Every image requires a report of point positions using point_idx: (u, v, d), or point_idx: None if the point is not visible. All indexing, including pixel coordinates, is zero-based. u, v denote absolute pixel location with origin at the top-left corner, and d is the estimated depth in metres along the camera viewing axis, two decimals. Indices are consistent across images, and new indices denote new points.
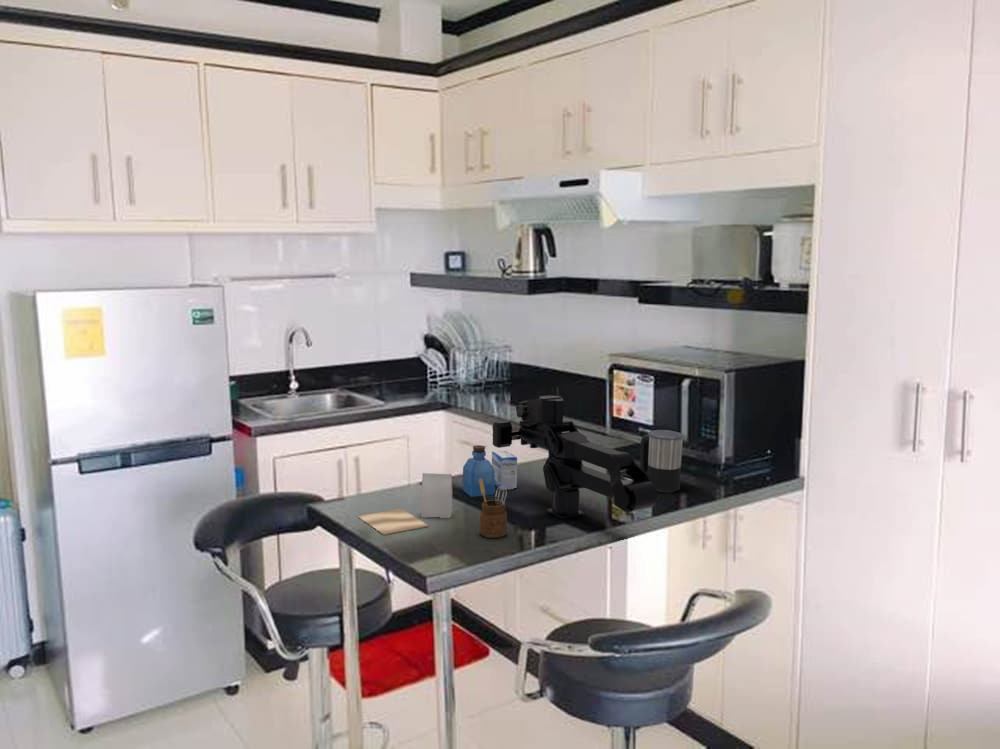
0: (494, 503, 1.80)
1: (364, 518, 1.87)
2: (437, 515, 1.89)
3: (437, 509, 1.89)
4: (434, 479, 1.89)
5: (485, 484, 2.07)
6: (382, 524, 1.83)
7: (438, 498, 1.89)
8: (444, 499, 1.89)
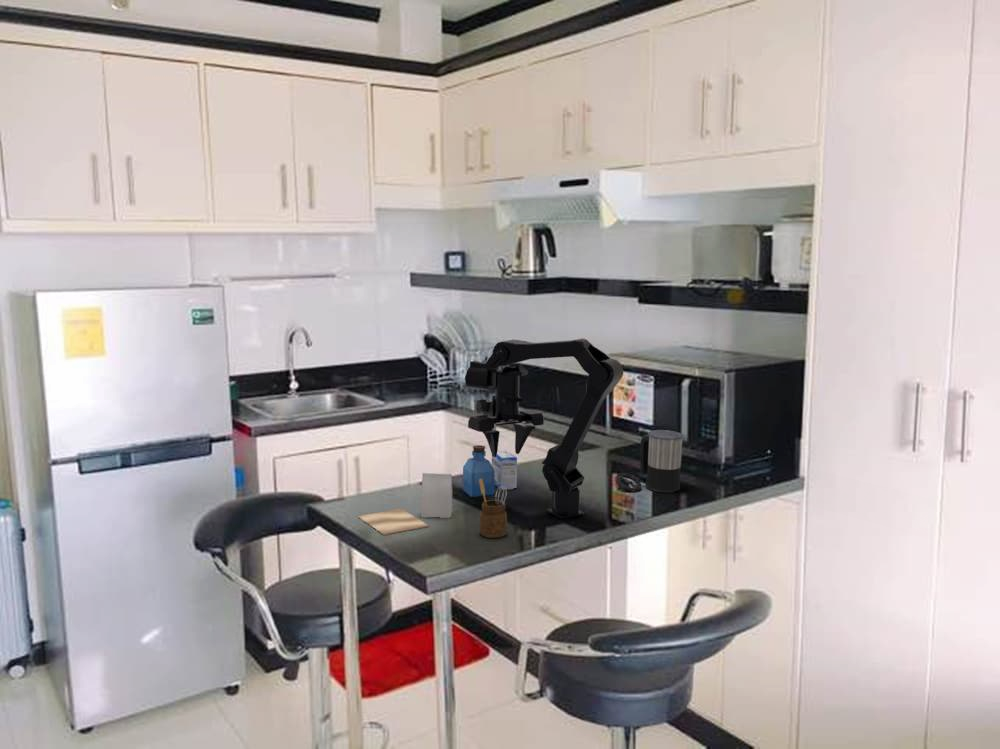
0: (494, 503, 1.80)
1: (364, 518, 1.87)
2: (437, 515, 1.89)
3: (437, 509, 1.89)
4: (434, 479, 1.89)
5: (485, 484, 2.07)
6: (382, 524, 1.83)
7: (438, 498, 1.89)
8: (444, 499, 1.89)
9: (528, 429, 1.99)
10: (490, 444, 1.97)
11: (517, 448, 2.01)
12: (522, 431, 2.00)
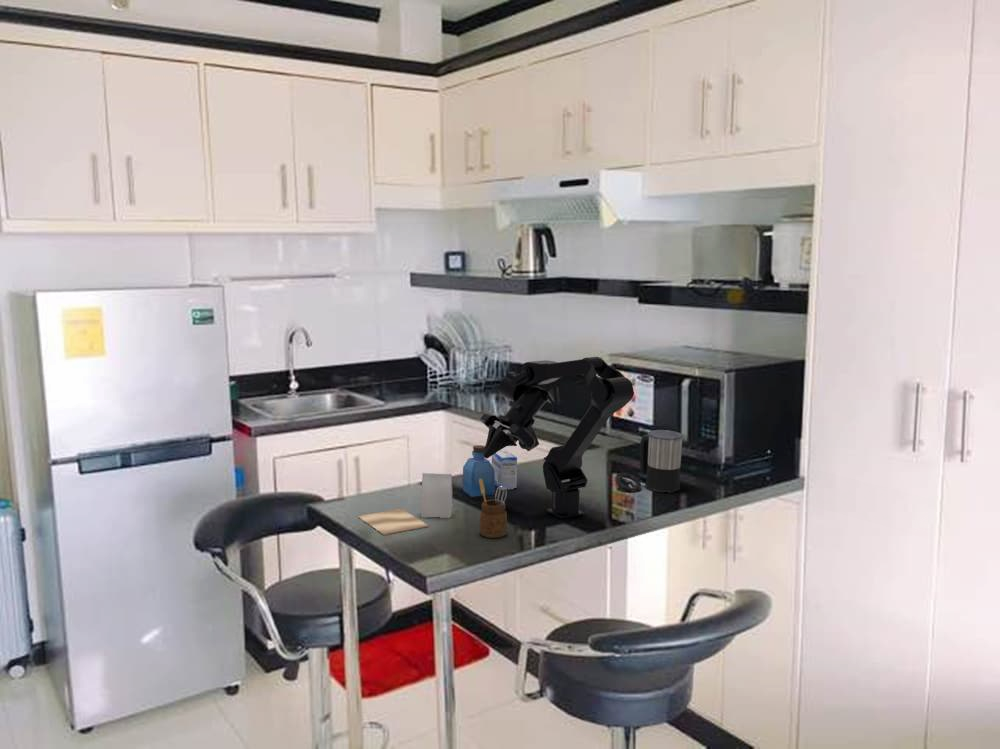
0: (494, 503, 1.80)
1: (364, 518, 1.87)
2: (437, 515, 1.89)
3: (437, 509, 1.89)
4: (434, 479, 1.89)
5: (485, 484, 2.07)
6: (382, 524, 1.83)
7: (438, 498, 1.89)
8: (444, 499, 1.89)
9: (497, 429, 1.95)
10: None
11: None
12: None
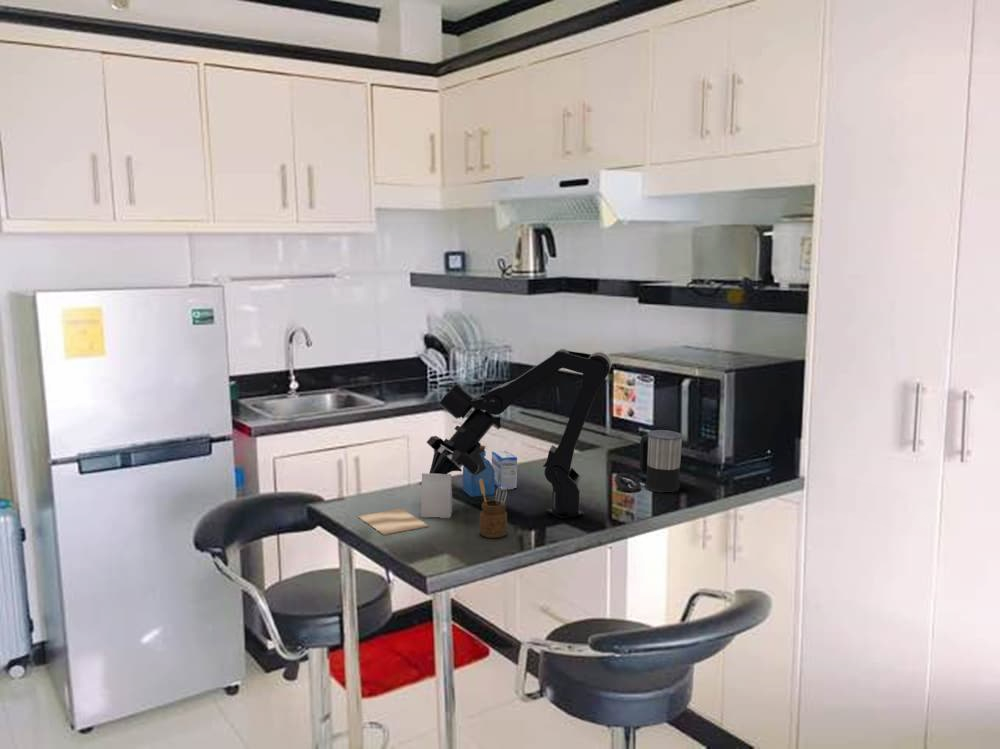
0: (494, 503, 1.80)
1: (364, 518, 1.87)
2: (437, 515, 1.89)
3: (437, 509, 1.89)
4: (434, 479, 1.89)
5: (485, 484, 2.07)
6: (382, 524, 1.83)
7: (438, 498, 1.88)
8: (444, 499, 1.88)
9: (441, 454, 1.90)
10: None
11: None
12: None
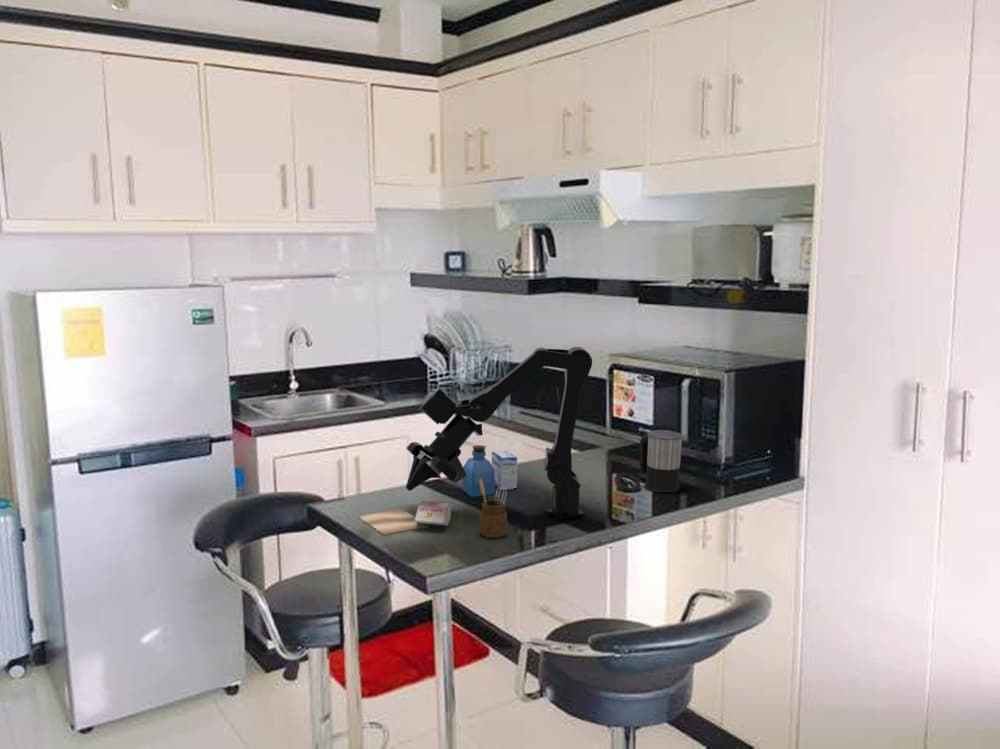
0: (494, 503, 1.80)
1: (364, 518, 1.87)
2: None
3: None
4: None
5: (485, 484, 2.07)
6: (382, 524, 1.83)
7: None
8: None
9: (420, 461, 1.86)
10: None
11: None
12: None
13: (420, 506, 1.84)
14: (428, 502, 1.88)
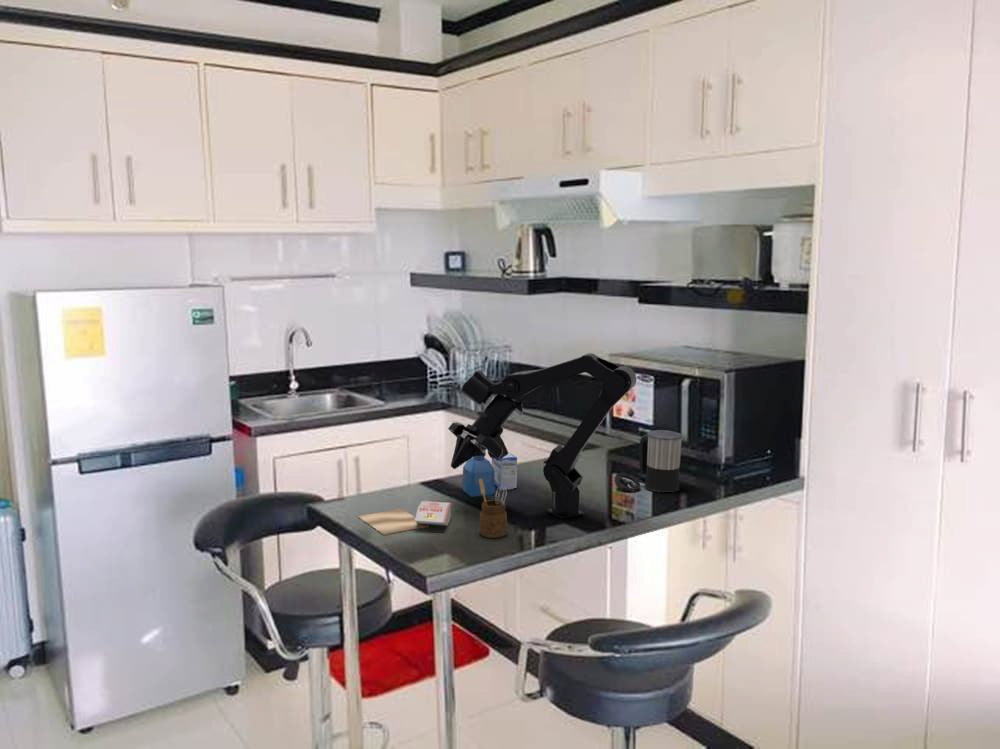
0: (494, 503, 1.80)
1: (364, 518, 1.87)
2: None
3: None
4: None
5: (485, 484, 2.07)
6: (382, 524, 1.83)
7: None
8: None
9: (464, 439, 1.91)
10: None
11: None
12: None
13: (420, 506, 1.84)
14: (428, 502, 1.88)
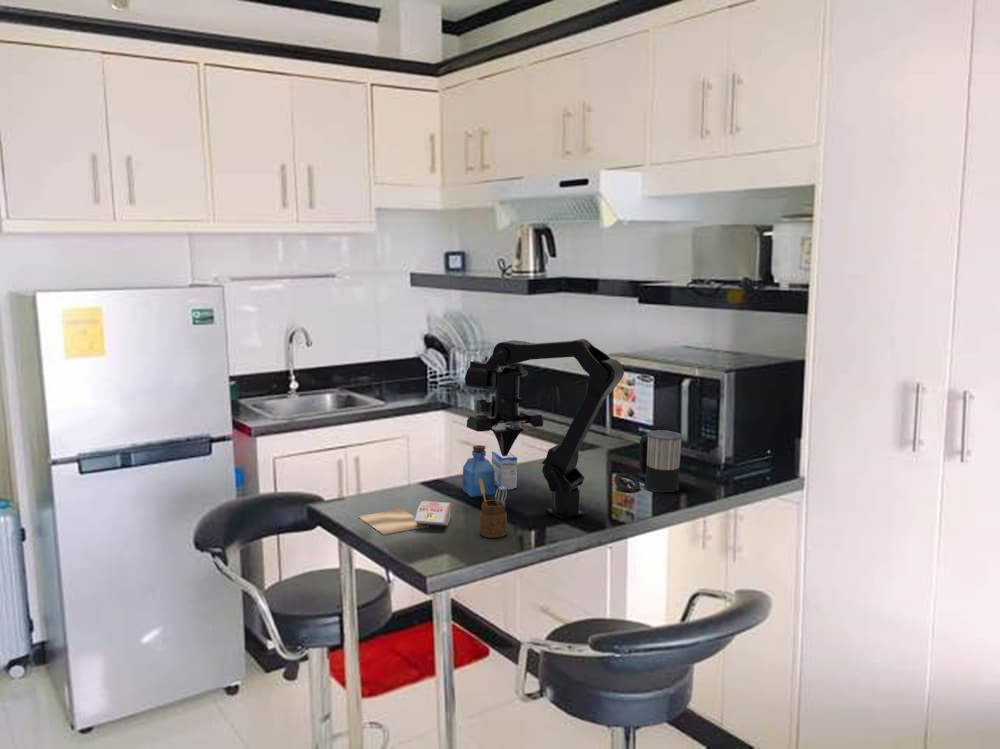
0: (494, 503, 1.80)
1: (364, 518, 1.87)
2: None
3: None
4: None
5: (485, 484, 2.07)
6: (382, 524, 1.83)
7: None
8: None
9: (516, 431, 1.97)
10: (500, 443, 1.98)
11: None
12: (510, 433, 1.98)
13: (420, 506, 1.84)
14: (428, 502, 1.88)
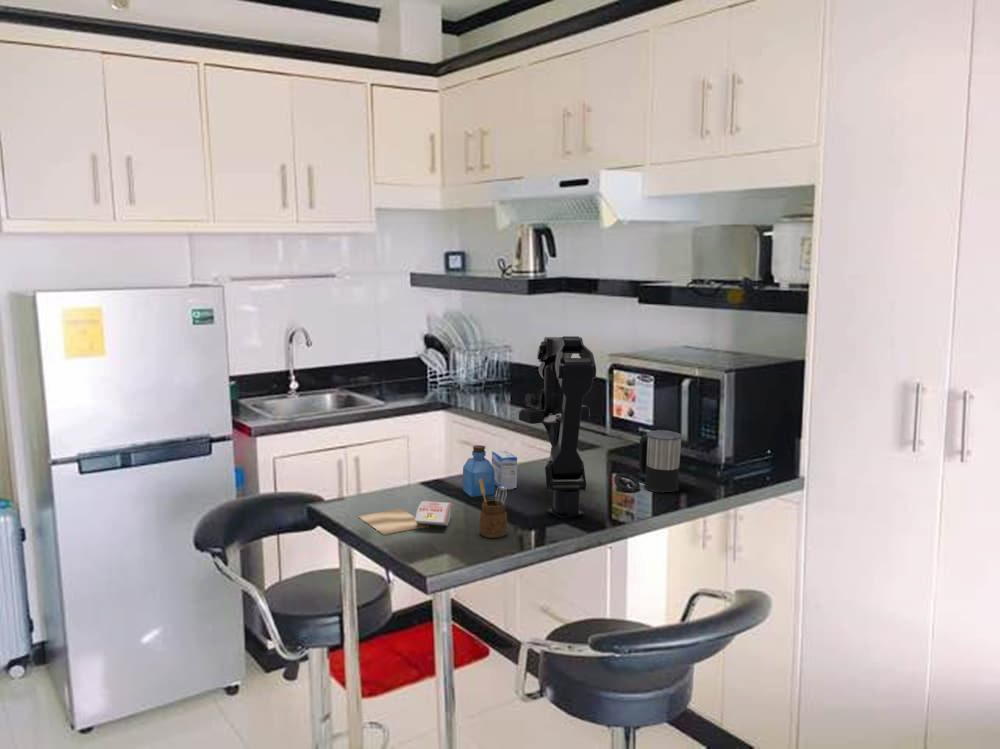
0: (494, 503, 1.80)
1: (364, 518, 1.87)
2: None
3: None
4: None
5: (485, 484, 2.07)
6: (382, 524, 1.83)
7: None
8: None
9: None
10: (549, 434, 2.09)
11: None
12: (559, 424, 2.08)
13: (420, 506, 1.84)
14: (428, 502, 1.88)
